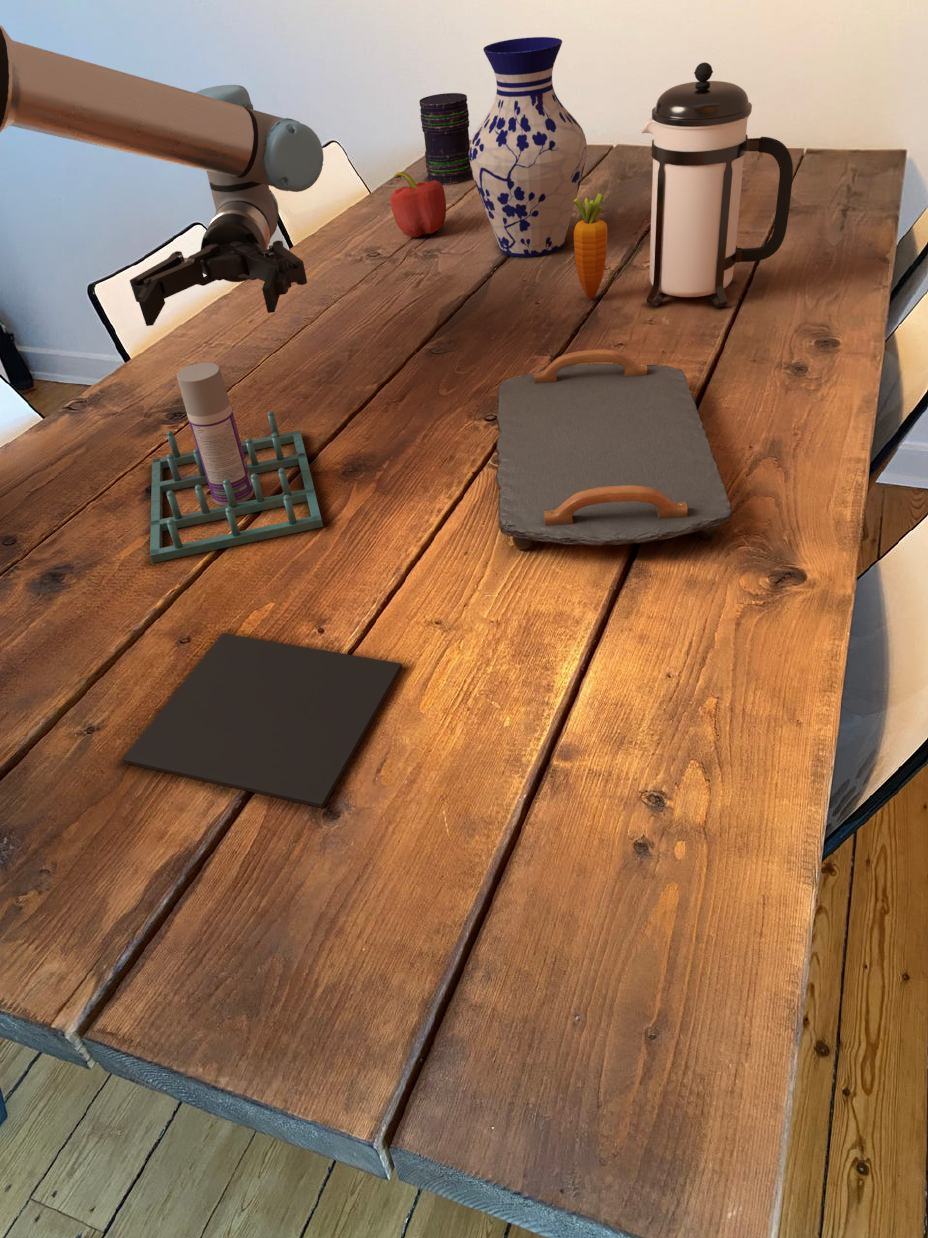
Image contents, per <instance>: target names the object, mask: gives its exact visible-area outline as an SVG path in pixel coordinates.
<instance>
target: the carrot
mask: <svg viewBox="0 0 928 1238" xmlns="http://www.w3.org/2000/svg"><path fill="white" fill-rule="evenodd" d="M589 199H590V198H589V197H588V196H587V197H585V198H584V205H583V203H582V201H581V200H580V199H579V198H578V197H577V198H576V199H575V200H574V203H575V206H576V207H577V209H578V211H579V213H580V215H581V217H582V218H583V219H582V220H579V221H578V222H577V223H576V224H575V227H574V230H573V247H574V261H575V267H576V271H577V277H578V281H579V284H580V286H581V288H582V290H583V292H584V294H585V296H586V297H587V298H588V299H589V300H590V301H591V300H594V298H595V297H596V295H597V293H598V292H599V291H598V290H599V289H600V286H601V284H602V281H603V276H604V270H605V266H606V259H607V249H608V224H607V223H606V222H605V221H604V220H602V219H599V218H598V217H599V215H600V214H601V213H602V211H603V210H604V207H603V206H601V204H602V202H603V199H604V195H603V193H601V192H600V193H599V192H598V193H597V195H596V197H595V200H593V199H592V200H591V199H590V200H589ZM584 206H585V207H584Z"/></svg>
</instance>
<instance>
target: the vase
mask: <svg viewBox="0 0 928 1238" xmlns="http://www.w3.org/2000/svg"><path fill="white" fill-rule="evenodd" d="M562 44H563V40H562V39H561V38H557V37H551V36H533V37H532V36H531V37H520V38H519V37H518V38H511V39H506V40H500V41H497V42H492V43H490V44H487V45H486V46H484V47H483V49H482V50H483V52H484V55H485V56H486V58H487V60H488V62H489V64H490V66H491V68H492V70H493V74H494V76H495V80H496V81H495V82H496V92H495V97H494V100H493V103H492V106H491V107H490V109H489V111H488V113H487V114H486V116H485V117H484V118H483V120H482V121H481V123H480V125H479V126H478V128H477V129H476V130H475V133H473V136H472V137H471V141H470V149H469V158H470V165H471V170H472V174H473V177H472V178H473V180H474V182H475V185H476V189H477V192H478V194H479V198H480V201H481V203H482V206H483V207H484V210H485V213H486V216H487V218H488V220H489V223H490V225H491V228H492V231H493V233H494V236H495V238H496V241H497V243H498V245H499V248H500V251H501V252H502V253H503V254H505V255H507V256H512V257H515V258H517V257H519V258H534V257H541V256H546V255H550V254H553V253H555V252H557V251H559V250H561V249H562V248H563V247H564V244H565V242H566V241H565V240H566V236H567V233H568V229H569V226H570V222H571V219H572V215H573V213H574V208H575V206H576V204H575V203H574V200H575V199H576V198H578V194H579V190H580V186H581V183H582V178H583V174H584V170H585V165H586V161H587V147H588V145H587V144H588V143H587V138H586V135H585V132H584V129H583V128H582V126H581V125H580V123H579V122H578V121H577V119H576V118H575V117H574V116H573V115H572V114H571V112H569V111H568V110H567V109H566V107H565V106H564V105H563V104H562V102H561V101H560V100H559V98H558V96H557V93H556V92H555V89H554V85H553V71H554V66H555V62H556V59H557V57H558V55H559V53H560V50H561V47H562Z"/></svg>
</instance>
